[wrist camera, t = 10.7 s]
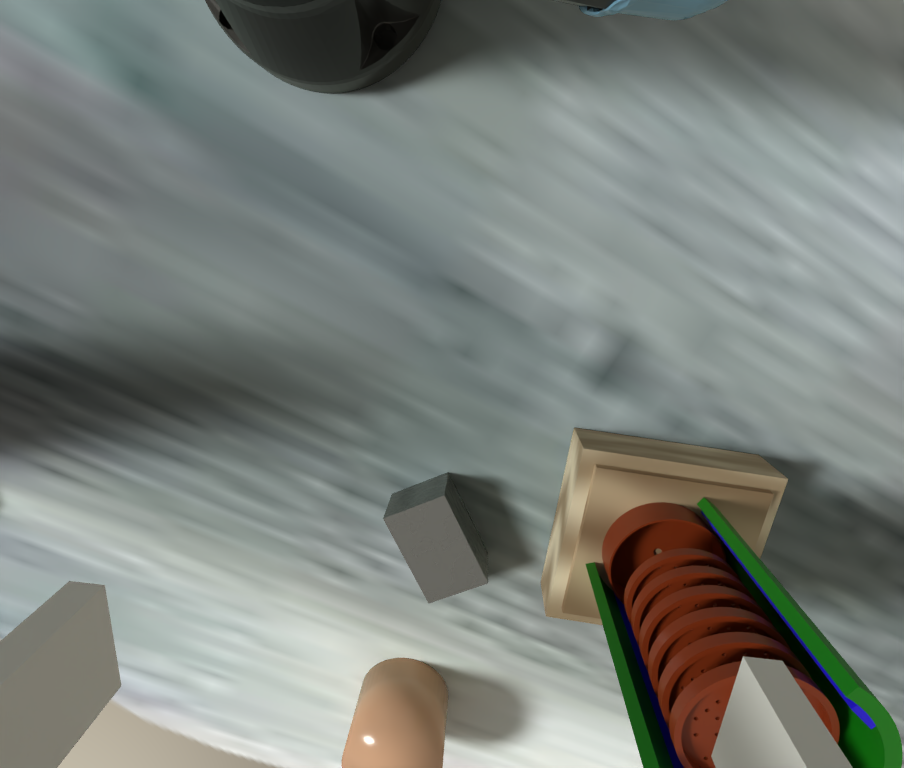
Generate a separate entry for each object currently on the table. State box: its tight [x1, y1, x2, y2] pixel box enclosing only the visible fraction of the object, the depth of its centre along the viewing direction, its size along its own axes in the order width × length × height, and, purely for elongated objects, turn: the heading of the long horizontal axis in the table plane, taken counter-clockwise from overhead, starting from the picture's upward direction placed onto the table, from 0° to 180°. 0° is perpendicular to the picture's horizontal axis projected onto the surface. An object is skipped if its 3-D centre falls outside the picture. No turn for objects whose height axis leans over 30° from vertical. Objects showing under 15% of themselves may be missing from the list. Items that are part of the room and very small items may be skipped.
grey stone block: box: [383, 472, 488, 603], centre depth 41 cm, size 8×5×4 cm, turn 24°
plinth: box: [541, 428, 788, 625], centre depth 39 cm, size 14×14×5 cm
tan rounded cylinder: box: [342, 658, 448, 768], centre depth 44 cm, size 8×8×7 cm
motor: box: [586, 497, 902, 768], centre depth 27 cm, size 10×9×20 cm
